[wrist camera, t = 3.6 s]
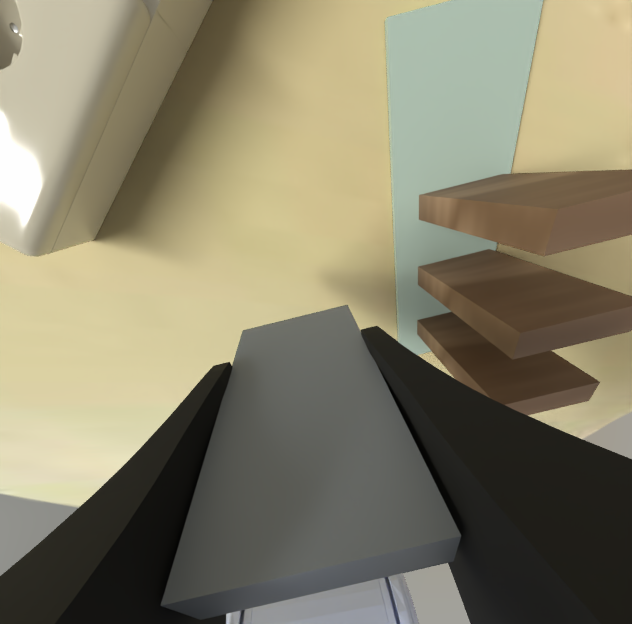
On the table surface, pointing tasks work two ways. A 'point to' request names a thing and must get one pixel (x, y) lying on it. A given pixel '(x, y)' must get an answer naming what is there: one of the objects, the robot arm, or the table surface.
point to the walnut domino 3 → (504, 368)
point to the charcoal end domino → (306, 477)
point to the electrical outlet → (79, 107)
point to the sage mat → (450, 125)
